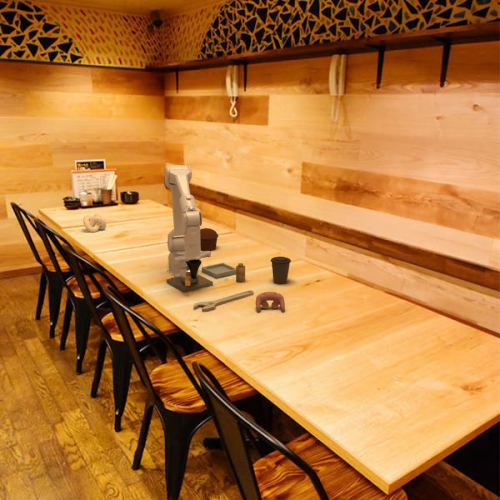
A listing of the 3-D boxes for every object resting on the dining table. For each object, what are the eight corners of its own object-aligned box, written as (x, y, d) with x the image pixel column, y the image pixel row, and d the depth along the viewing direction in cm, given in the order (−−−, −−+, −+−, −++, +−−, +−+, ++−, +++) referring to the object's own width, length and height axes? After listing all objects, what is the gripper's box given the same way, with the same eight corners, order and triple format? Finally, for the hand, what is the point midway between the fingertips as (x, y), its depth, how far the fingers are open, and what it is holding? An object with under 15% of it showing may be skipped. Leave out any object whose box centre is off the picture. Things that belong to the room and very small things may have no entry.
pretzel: (82, 229, 264) (81, 213, 262) (104, 227, 269) (103, 211, 267) (84, 233, 254) (83, 217, 252) (107, 231, 259) (106, 215, 257)
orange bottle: (234, 280, 187) (234, 263, 185) (241, 279, 189) (241, 261, 187) (239, 283, 184) (239, 265, 182) (247, 281, 186) (247, 264, 184)
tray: (201, 271, 196) (201, 267, 196) (223, 267, 203) (222, 262, 202) (216, 279, 188) (216, 274, 188) (238, 273, 195) (238, 269, 194)
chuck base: (166, 282, 183) (166, 279, 183) (194, 276, 191) (194, 272, 191) (183, 292, 174) (183, 289, 173) (212, 285, 181) (212, 281, 181)
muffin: (220, 246, 234) (220, 226, 231) (216, 252, 223) (216, 232, 221) (196, 245, 235) (196, 225, 232) (192, 251, 224) (191, 231, 222)
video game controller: (284, 312, 162) (283, 292, 163) (285, 311, 157) (285, 290, 158) (255, 312, 161) (255, 292, 162) (256, 312, 157) (255, 291, 158)
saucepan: (180, 277, 185) (180, 259, 183) (198, 276, 185) (198, 258, 183) (178, 292, 169) (177, 273, 167) (197, 292, 170) (197, 272, 168)
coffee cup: (289, 286, 181) (290, 261, 178) (268, 284, 183) (268, 260, 180) (291, 279, 189) (292, 255, 186) (271, 277, 190) (272, 254, 188)
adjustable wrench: (250, 293, 175) (250, 289, 175) (260, 299, 170) (261, 294, 170) (191, 308, 161) (191, 303, 160) (200, 314, 156) (200, 309, 156)
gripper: (180, 249, 164) (182, 285, 168) (215, 242, 172) (215, 277, 176) (170, 244, 169) (172, 280, 173) (204, 238, 178) (205, 272, 182)
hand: (193, 278), depth 175 cm, fingers closed, pressing on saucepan
